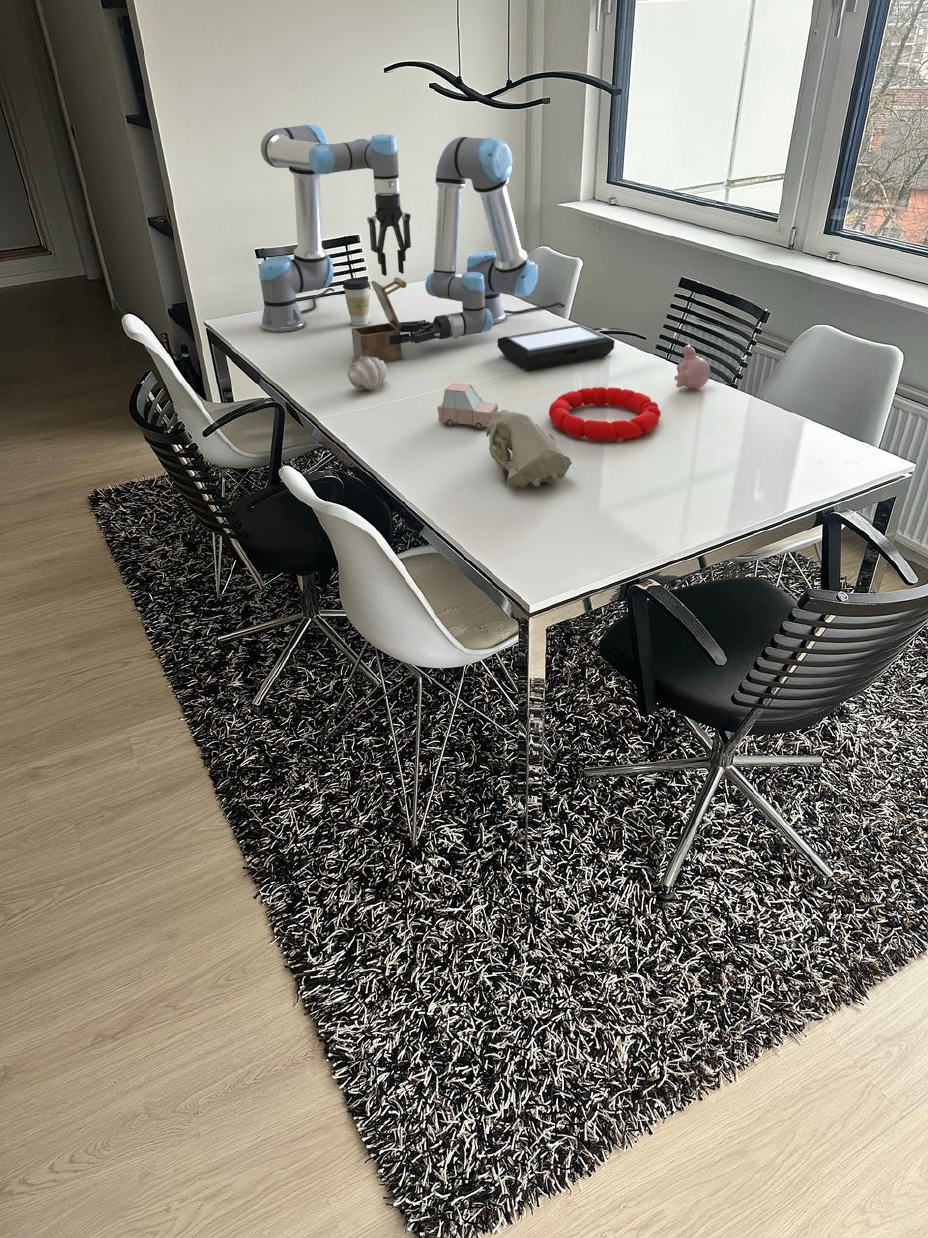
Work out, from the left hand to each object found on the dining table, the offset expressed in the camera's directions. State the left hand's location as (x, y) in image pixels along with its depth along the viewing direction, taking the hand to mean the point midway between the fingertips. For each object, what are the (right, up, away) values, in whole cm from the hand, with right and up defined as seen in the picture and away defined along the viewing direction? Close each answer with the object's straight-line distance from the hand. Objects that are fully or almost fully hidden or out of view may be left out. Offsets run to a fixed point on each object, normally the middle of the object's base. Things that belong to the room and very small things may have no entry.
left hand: (392, 273), depth 281 cm
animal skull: (+37, -73, -61) cm, 102 cm away
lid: (-3, -9, +4) cm, 10 cm away
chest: (-6, -23, +12) cm, 27 cm away
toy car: (+24, -55, -36) cm, 70 cm away
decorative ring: (+61, -55, -38) cm, 91 cm away
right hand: (-3, -17, +9) cm, 20 cm away
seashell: (-6, -40, -11) cm, 42 cm away
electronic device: (+52, -24, +9) cm, 58 cm away
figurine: (+89, -41, -19) cm, 100 cm away
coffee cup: (-16, -1, +46) cm, 48 cm away
